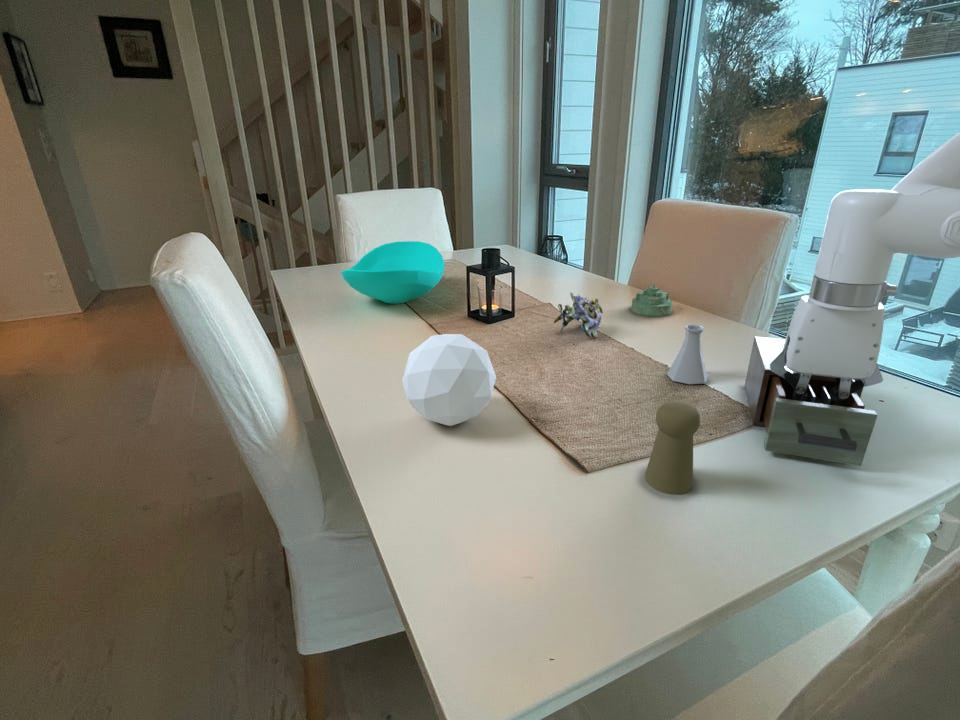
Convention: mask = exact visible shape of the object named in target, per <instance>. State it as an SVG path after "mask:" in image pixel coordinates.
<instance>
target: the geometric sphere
mask: <svg viewBox="0 0 960 720" xmlns="http://www.w3.org/2000/svg"><path fill="white" fill-rule="evenodd" d="M404 368H405V369H404V373H403V375H402V380H401V383H402V386H403V388H404V393H405V395H406V398H407V401H408V402H409V404H410V405H411V407H412V408H414V410H415V411H416V412H417V413H418V414H420V415H421V416H422V417H423V419H425V420H428V421H431V422H435V423H437V424H442V425H444V426H448V427H453V426H456V425H458V424H462V423H464V422H467V421H469V420H472V419H473V418H476V416H478V415H479V414H480V413H481V412H482V411H483V410H484V409H485V408H486V407H487V406H488V405H489V403H490V400H491V397H492V394H493V391H494V387H495V384H496V380H497V375H496V373H495V372H496V371H495V369H494V366H493V364H492V362H491V358H490V356H489V353H488V351H487V349H485V348H484V347H482V346H481V345H479V344H478V343H476V342H474V340H471V339H470V338H469V337H467V336H465V335H464V334H463V333H461V334H460V333H445V334H433V335H431V336H429V338H427V339H426V340H424V341H423V342H422V343H421V344H420V345H419V346H417V347H415V348H414V349H413V350H412V351H411V352H410V353H408V358H407V360H406V365H405V367H404Z"/></svg>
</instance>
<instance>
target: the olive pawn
mask: <svg viewBox="0 0 960 720" xmlns="http://www.w3.org/2000/svg"><path fill="white" fill-rule="evenodd" d="M655 421H656V422H655V424H656V425H657V428H658V429H657V433H656V437H655V440H654V443H653V447H652V450H651V453H650V456H649V460H648V463H647V466H646V470H645V474H644V479H645V481H646V483H647V484H648V485H649V486H650V487H651V488H652V489H654V490H656V491H659V492H661V493H663V494H668V495H682V494H686V493H688V492H690V491H691V490H692V489H693V488H694V435H695V434H696V433H697V431H698V430H699V428H700V427H701V426H700V425H701V414H700V412H699V410H698V409H697V408H696V406H693V405H692V404H690V403H687V402H683V401H676V400H672V401H667V402H664V403H662V404H661V405H660V406H659V407H658V408H657V411H656V414H655Z"/></svg>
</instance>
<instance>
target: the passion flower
mask: <svg viewBox="0 0 960 720" xmlns="http://www.w3.org/2000/svg"><path fill="white" fill-rule="evenodd" d="M569 294H570V298H571V301H572V306H571V307H570V304H565V306H564V309H563V304H561V303H558V305H557V308H558V310H559V312H560V314H559V315H558V316H557V317H556V318H555V319H554V321H553V324H556V323H558V321H561V320H562V323H561V326H560V332H562V331H563V330H564V328H565V327H567V326H568V325H569V323H570V322H572V321H573V320H576V321H577V322H579V321H581V325H580V331H582V332H583V333H585V336H587V337H588V338H591V337H592V338H598V333H597V330H598V329H600V328H601V325H600V324H601V323H602V322H601V320H602V314H603V313H604V312H603V307H602V306H601V305H600V303H599V299H598V298H595V299H594V298H591V299H588V298H587V297H583V296H581V295H580V293H577V295H574V293H573V292H570V293H569Z"/></svg>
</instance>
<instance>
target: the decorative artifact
mask: <svg viewBox="0 0 960 720" xmlns="http://www.w3.org/2000/svg"><path fill="white" fill-rule="evenodd" d="M673 304H674V302H673V300H672V299H671V298H669V293H668V292H666V291H662V290H661V289H660V287H659V286H656V283H653V284H652V286H648V288H647V289H645V288H644V289H643V291H642V290H640V291H637V292H636V295H635V296H634V297H632V299H631V306H630V307H631V308H630V309H631V311H632V312H633V313H635V314H638V315H641V316H646V317H665V316H669V315H671V314H672V311H673Z"/></svg>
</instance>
